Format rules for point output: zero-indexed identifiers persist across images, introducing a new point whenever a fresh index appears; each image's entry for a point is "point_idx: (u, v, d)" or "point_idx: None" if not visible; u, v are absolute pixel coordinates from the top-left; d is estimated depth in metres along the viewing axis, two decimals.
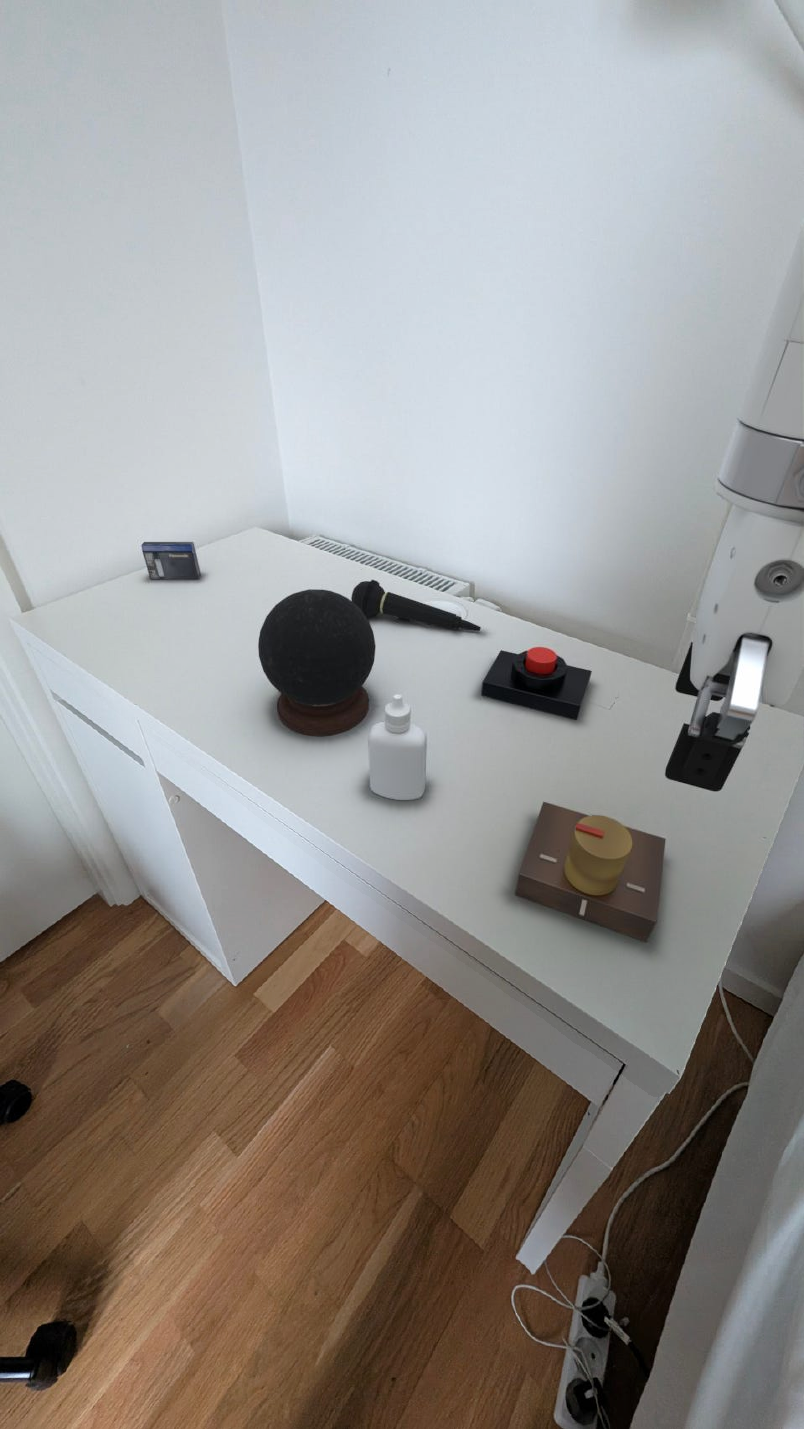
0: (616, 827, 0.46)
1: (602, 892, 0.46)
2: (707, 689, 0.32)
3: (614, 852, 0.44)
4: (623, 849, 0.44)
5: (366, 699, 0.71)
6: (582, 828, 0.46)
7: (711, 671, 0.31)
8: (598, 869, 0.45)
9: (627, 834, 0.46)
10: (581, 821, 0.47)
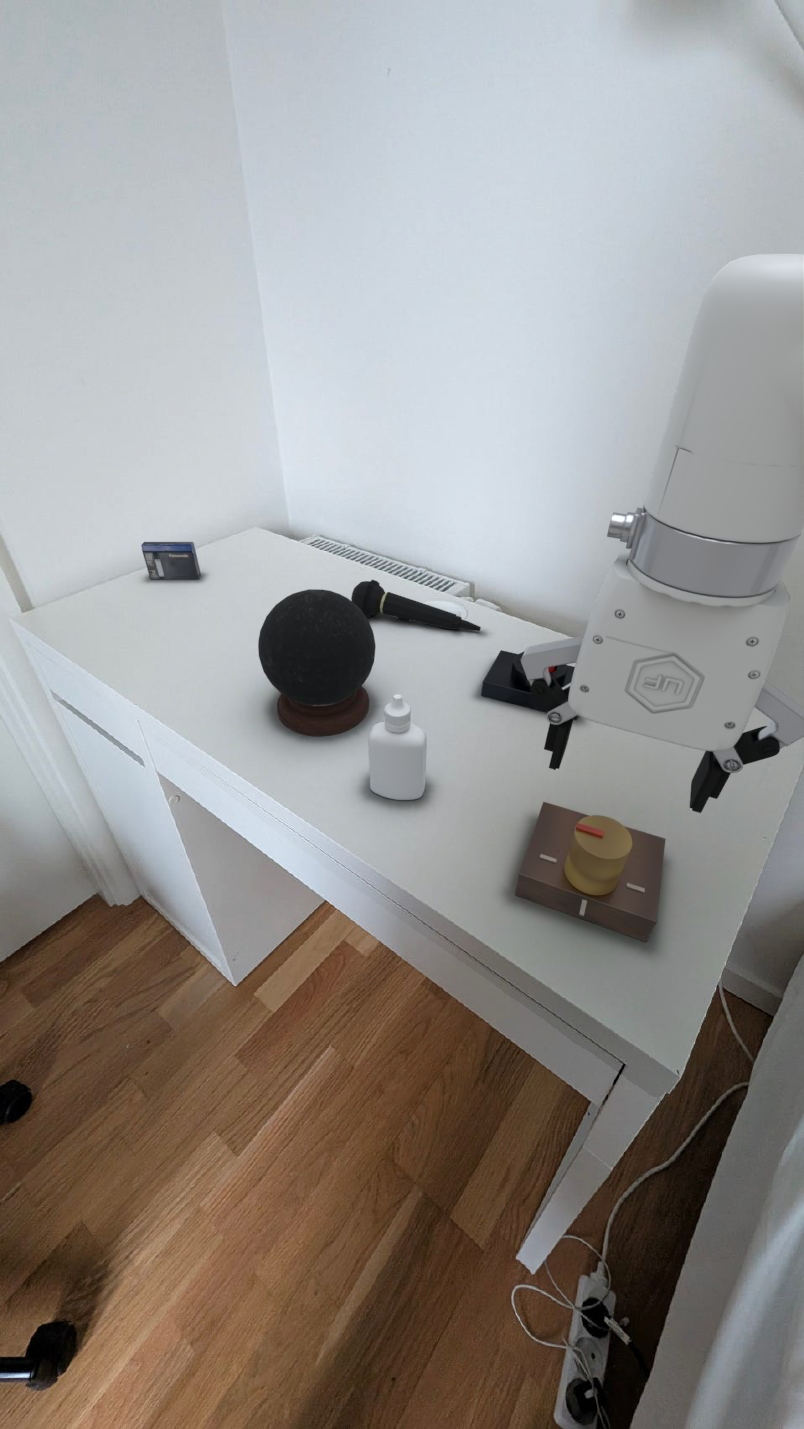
0: (616, 827, 0.46)
1: (602, 892, 0.46)
2: None
3: (614, 852, 0.44)
4: (623, 849, 0.44)
5: (366, 699, 0.71)
6: (582, 828, 0.46)
7: None
8: (598, 869, 0.45)
9: (627, 834, 0.46)
10: (581, 821, 0.47)
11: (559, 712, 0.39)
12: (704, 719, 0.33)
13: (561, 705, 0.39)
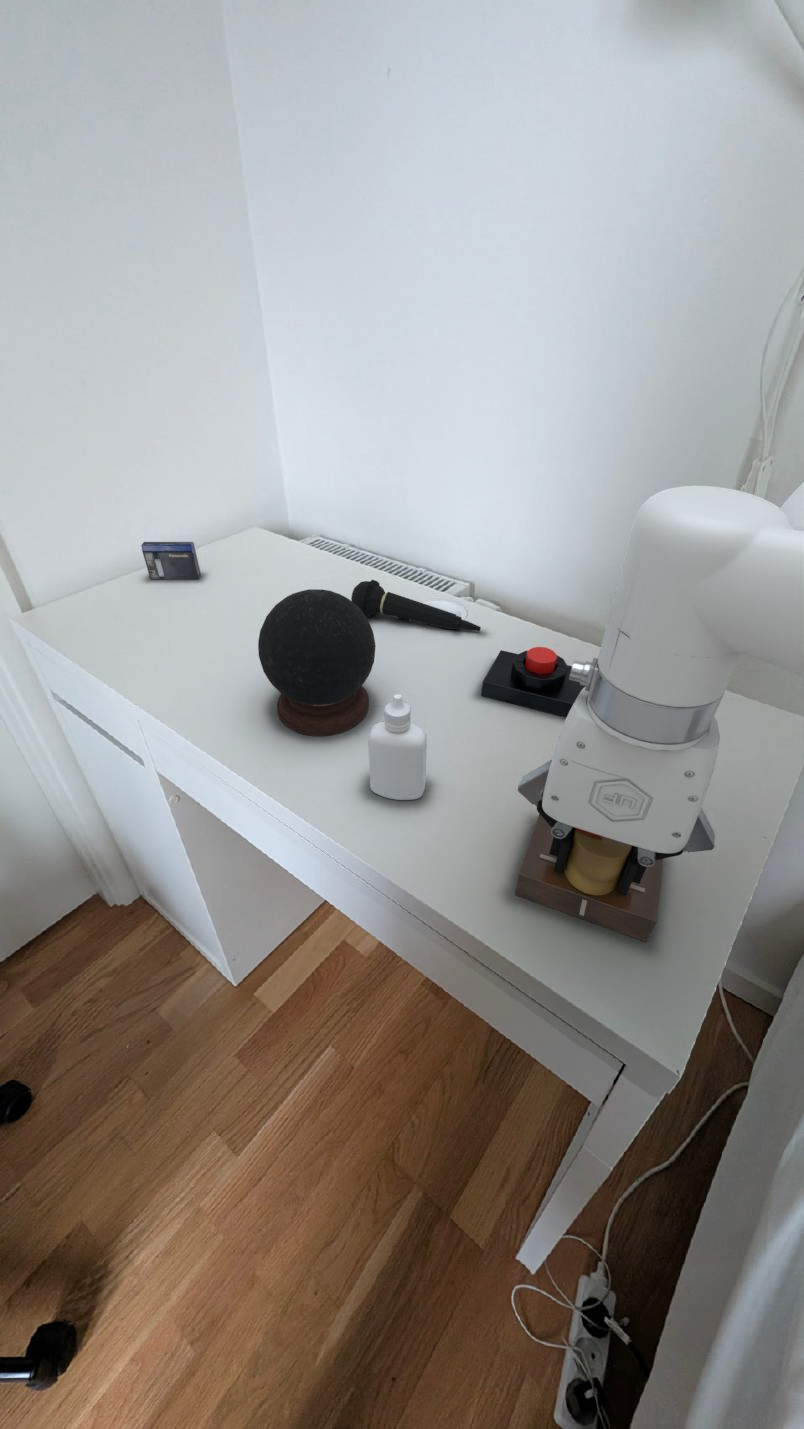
0: None
1: (602, 892, 0.46)
2: None
3: (614, 852, 0.44)
4: (623, 849, 0.44)
5: (366, 699, 0.71)
6: None
7: None
8: (598, 869, 0.45)
9: None
10: None
11: (559, 828, 0.45)
12: (655, 829, 0.39)
13: (563, 824, 0.45)
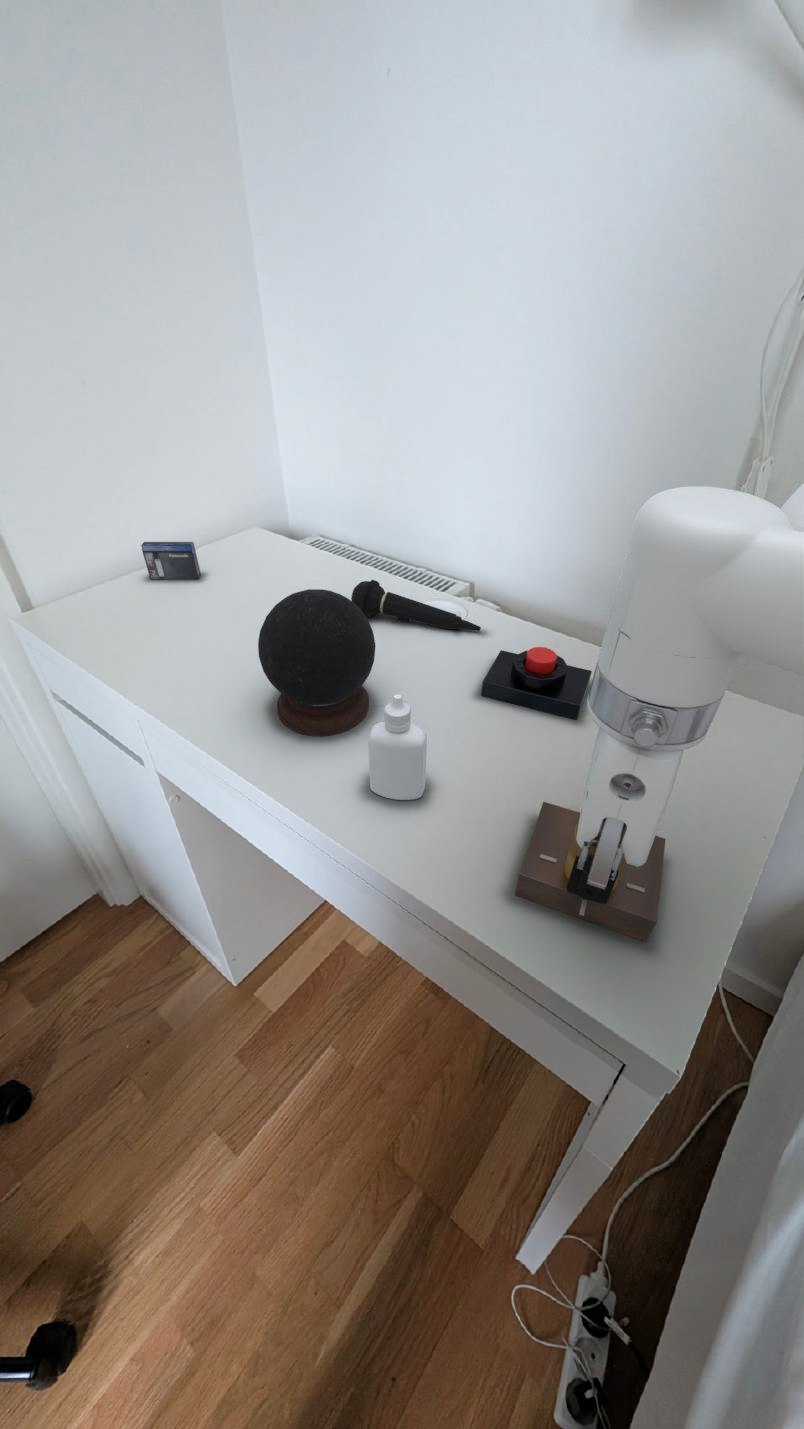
0: None
1: None
2: (587, 844, 0.42)
3: None
4: None
5: (366, 699, 0.71)
6: None
7: (585, 842, 0.41)
8: None
9: None
10: None
11: None
12: None
13: None
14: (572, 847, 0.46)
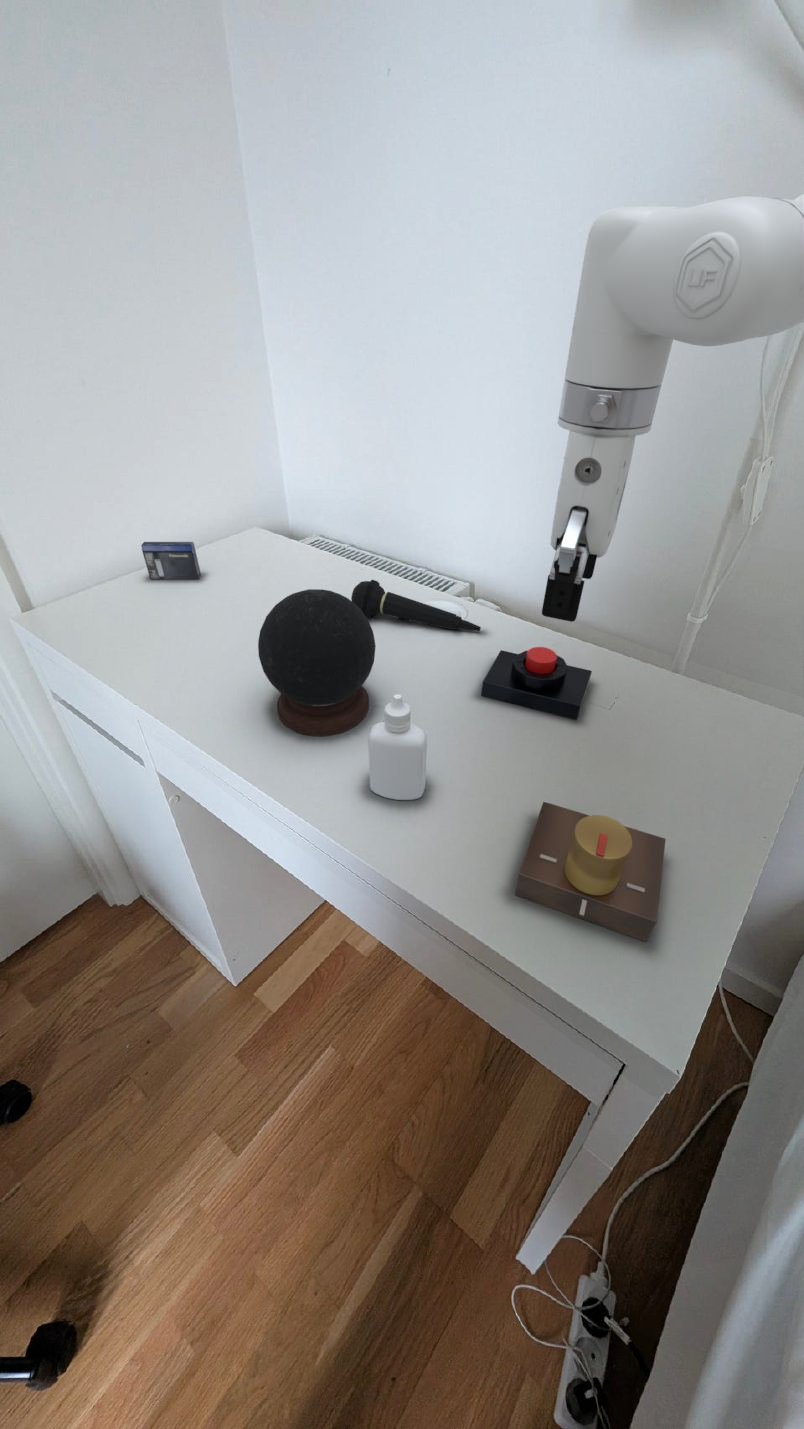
0: (588, 823, 0.47)
1: None
2: (559, 548, 0.51)
3: (622, 831, 0.46)
4: (615, 824, 0.46)
5: (366, 699, 0.71)
6: (603, 850, 0.44)
7: (558, 534, 0.50)
8: None
9: (594, 817, 0.47)
10: (589, 850, 0.44)
11: (582, 571, 0.51)
12: None
13: (584, 565, 0.50)
14: (572, 847, 0.46)
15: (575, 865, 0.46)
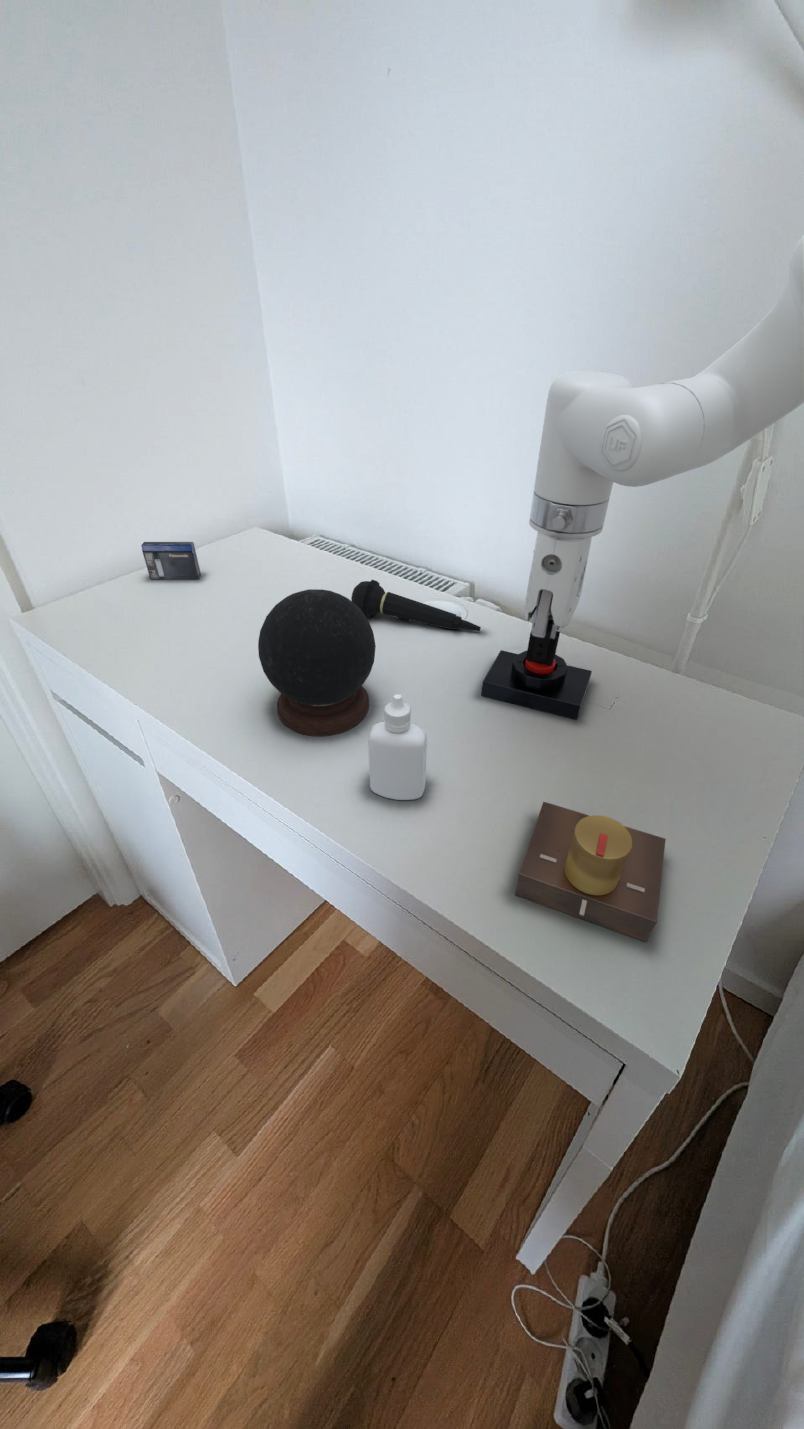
0: (588, 823, 0.47)
1: None
2: (535, 619, 0.66)
3: (622, 831, 0.46)
4: (615, 824, 0.46)
5: (366, 699, 0.71)
6: (603, 850, 0.44)
7: None
8: None
9: (594, 817, 0.47)
10: (589, 850, 0.44)
11: (555, 632, 0.66)
12: (582, 583, 0.66)
13: (557, 625, 0.66)
14: (572, 847, 0.46)
15: (575, 865, 0.46)
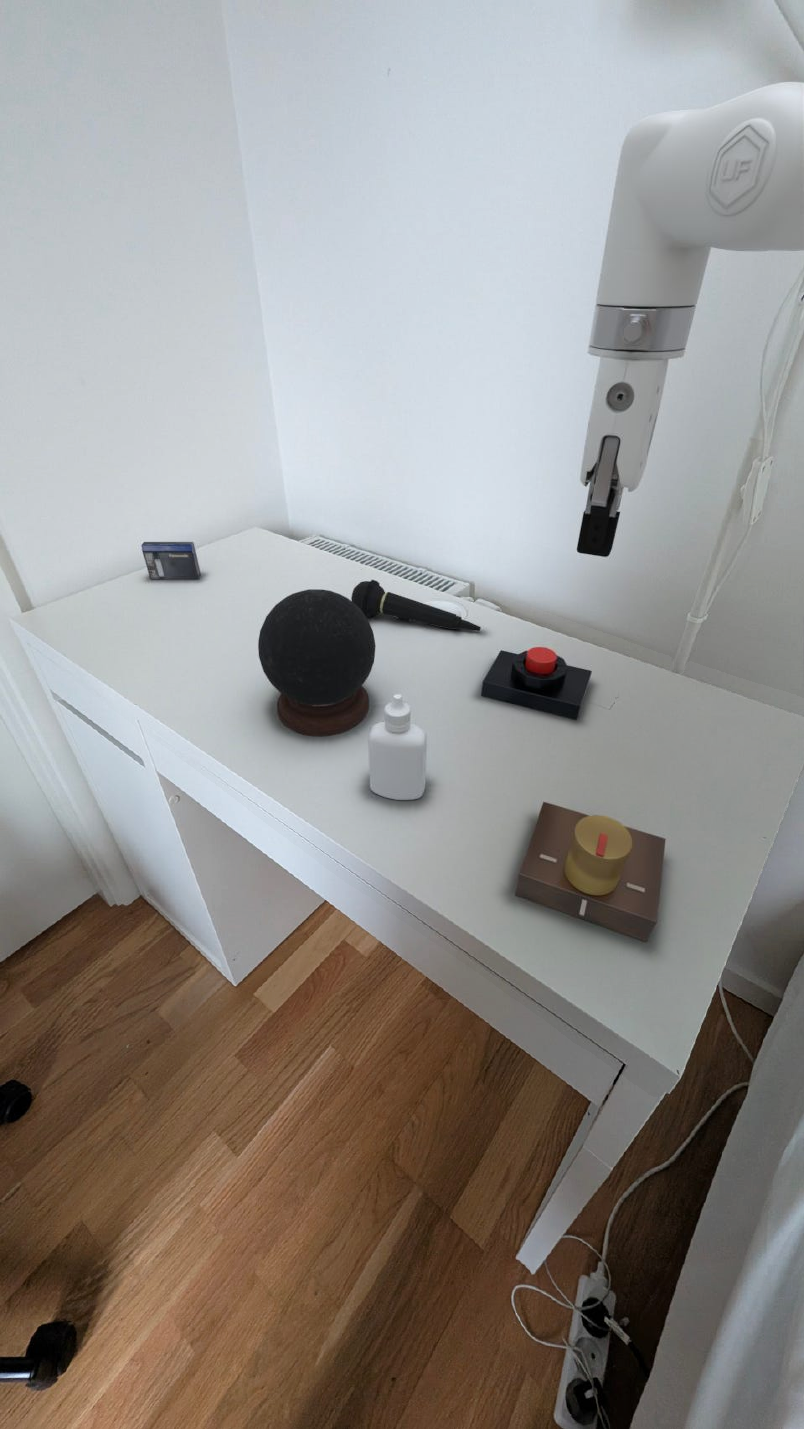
0: (588, 823, 0.47)
1: None
2: (591, 489, 0.53)
3: (622, 831, 0.46)
4: (615, 824, 0.46)
5: (366, 699, 0.71)
6: (603, 850, 0.44)
7: None
8: None
9: (594, 817, 0.47)
10: (589, 850, 0.44)
11: (616, 507, 0.53)
12: None
13: (618, 498, 0.53)
14: (572, 847, 0.46)
15: (575, 865, 0.46)
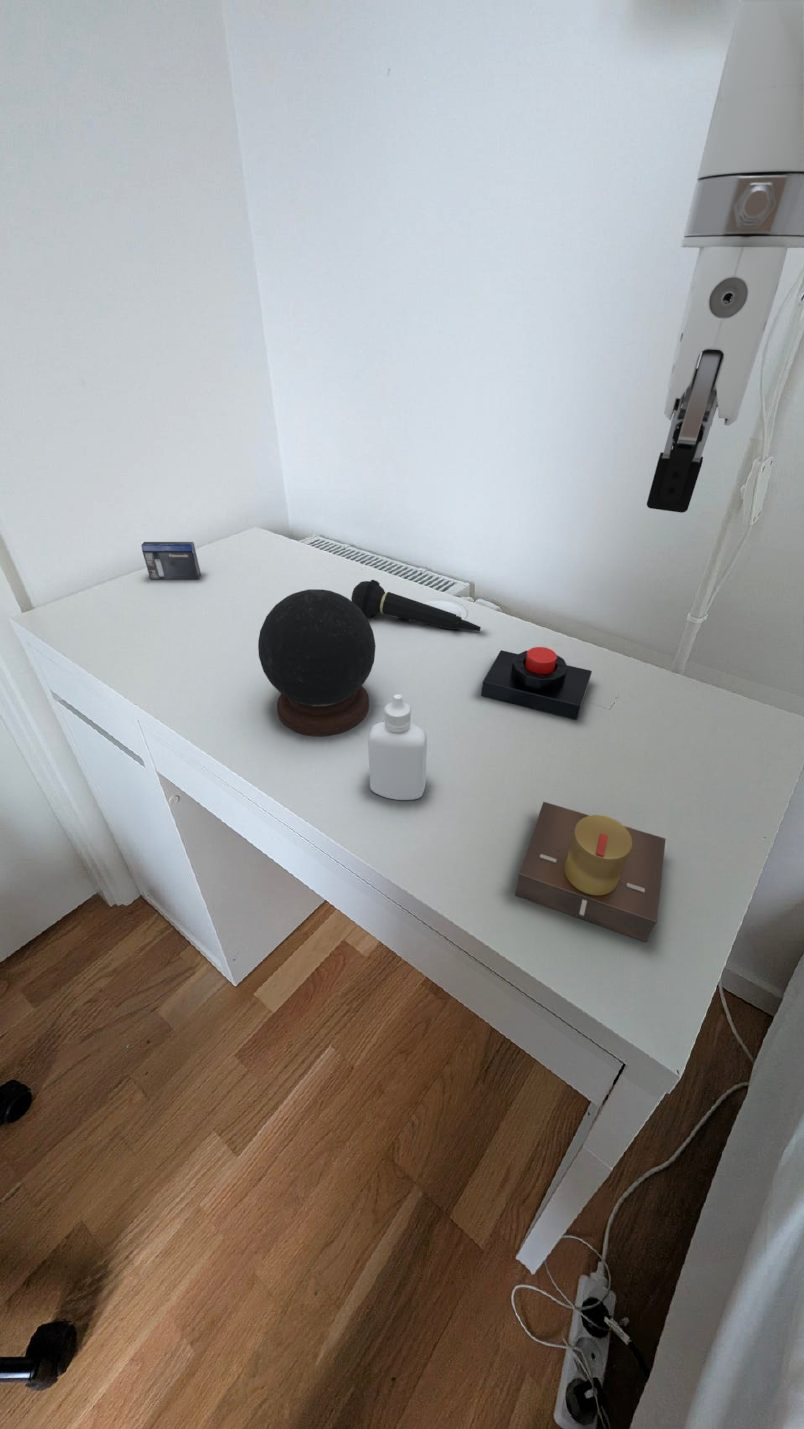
0: (588, 823, 0.47)
1: None
2: (673, 426, 0.43)
3: (622, 831, 0.46)
4: (615, 824, 0.46)
5: (366, 699, 0.71)
6: (603, 850, 0.44)
7: None
8: None
9: (594, 817, 0.47)
10: (589, 850, 0.44)
11: (703, 448, 0.44)
12: None
13: None
14: (572, 847, 0.46)
15: (575, 865, 0.46)
